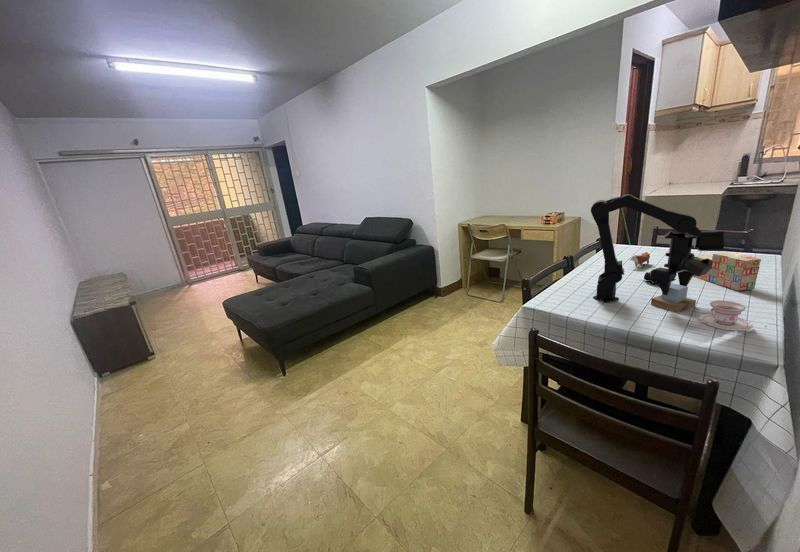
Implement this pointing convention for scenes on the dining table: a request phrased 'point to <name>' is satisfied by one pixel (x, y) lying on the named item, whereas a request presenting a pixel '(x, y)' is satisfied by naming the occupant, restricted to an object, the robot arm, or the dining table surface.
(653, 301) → the walnut block
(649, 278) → the tape measure
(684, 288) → the slate cube
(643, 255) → the bull figurine
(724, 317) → the teacup
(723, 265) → the stack of blocks
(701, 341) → the dining table surface
